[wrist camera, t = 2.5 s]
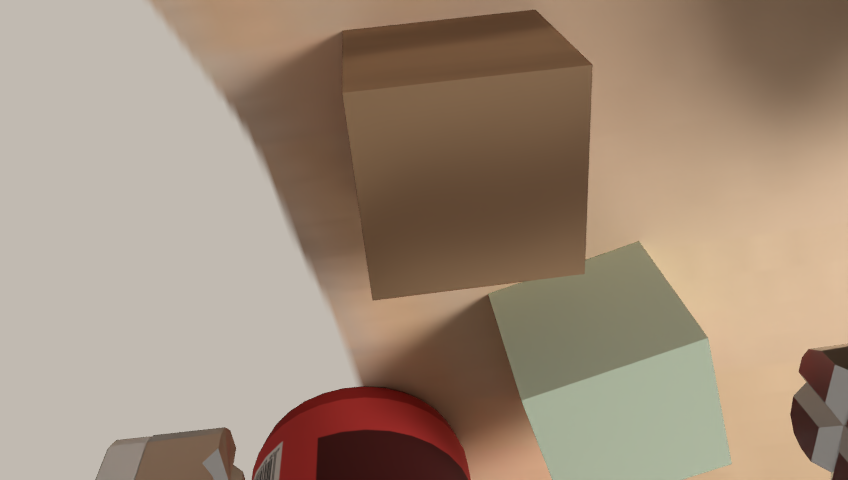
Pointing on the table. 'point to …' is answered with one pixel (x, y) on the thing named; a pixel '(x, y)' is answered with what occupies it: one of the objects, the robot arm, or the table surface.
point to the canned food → (362, 440)
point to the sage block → (613, 372)
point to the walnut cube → (468, 151)
